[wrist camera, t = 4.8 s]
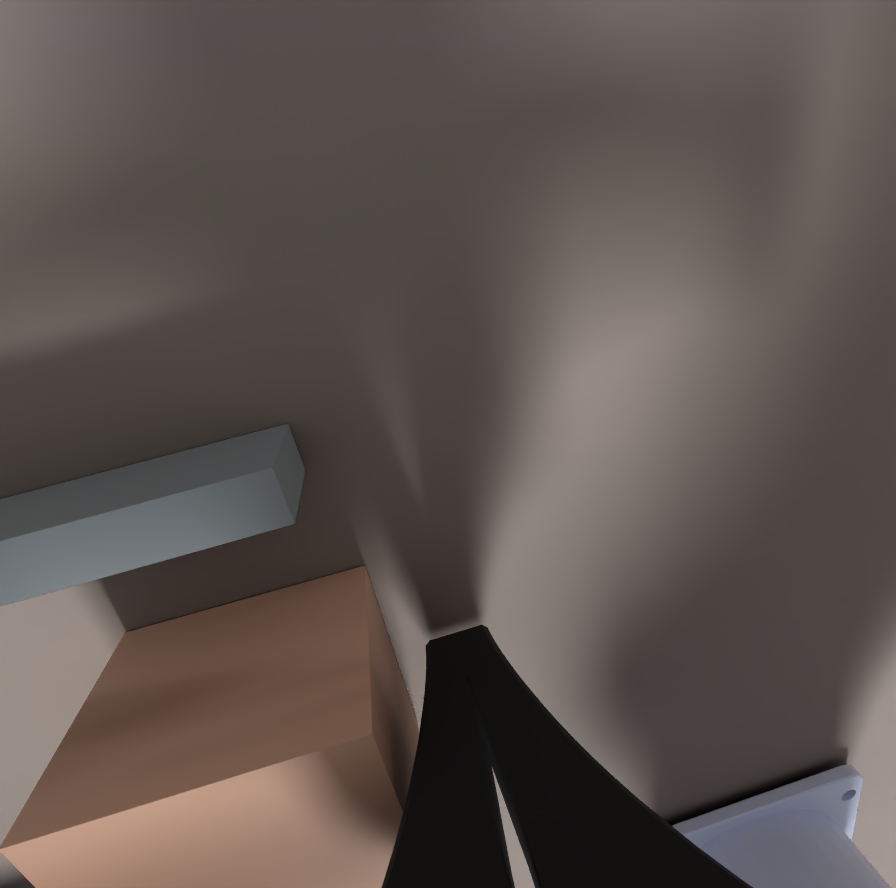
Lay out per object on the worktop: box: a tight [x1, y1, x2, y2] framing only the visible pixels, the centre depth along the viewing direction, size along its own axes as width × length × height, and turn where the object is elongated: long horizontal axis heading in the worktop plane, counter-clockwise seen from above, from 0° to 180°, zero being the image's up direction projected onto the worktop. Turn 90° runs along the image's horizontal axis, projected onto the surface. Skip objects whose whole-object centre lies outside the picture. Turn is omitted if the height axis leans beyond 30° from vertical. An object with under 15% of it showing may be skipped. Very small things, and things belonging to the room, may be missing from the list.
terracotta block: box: [0, 566, 419, 888], centre depth 10 cm, size 5×5×4 cm
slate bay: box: [0, 424, 305, 607], centre depth 10 cm, size 12×12×2 cm
